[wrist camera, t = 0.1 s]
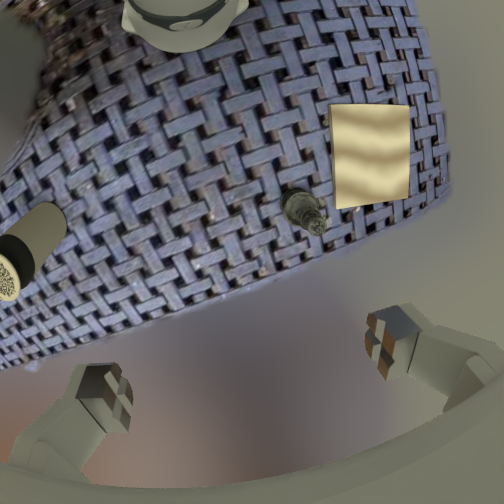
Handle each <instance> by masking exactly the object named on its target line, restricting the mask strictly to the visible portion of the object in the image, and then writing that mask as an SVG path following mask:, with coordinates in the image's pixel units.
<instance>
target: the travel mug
mask: <svg viewBox="0 0 504 504" xmlns="http://www.w3.org/2000/svg"><path fill="white" fill-rule="evenodd" d="M66 229H67V224H66V219H65V217H64V215H63V213H62V211H61V210H60V209H59V208H58V207H57V206H56V205H54V204H52V203H49V202H43V203H40V204H38V205H37V206H35V207H34V208H33V209H32V210H30V211H29V212H28V213H27V214H25V215H24V216H23V217H22V218H21V219H19V220H18V221H17V222H16V223H15V224H14V225H12V226H11V227H10V228H9V229H8V230H7V231H6V232H5V233H3V234H2V235H1V236H0V299H1V300H4V301H12V300H15V299H16V298H17V297H18V295H19V293H20V289H23V288H25V287H26V286H27V285H28V284H29V282H30V281H31V280H32V278H33V277H34V275H35V274H36V273H37V271H38V270H39V269H40V267H41V266H42V265H43V263H44V262H45V261H46V259H47V258H48V257H49V255H50V254H51V253H52V252H53V250H54V249H55V248H56V247H57V245H58V244H59V243H60V242H61V240H62V239H63V238H64V236H65V234H66Z"/></svg>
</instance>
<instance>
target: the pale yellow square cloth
mask: <svg viewBox="0 0 504 504" xmlns="http://www.w3.org/2000/svg"><path fill="white" fill-rule="evenodd" d="M328 113H329V125H330V139H331V155H332V176H333V207H334V208H335V209H342V208H348V207H354V206H360V205H366V204H372V203H378V202H385V201H391V200H398V199H404V198H408V185H409V160H410V123H409V106H406V105H386V104H331V105H328Z"/></svg>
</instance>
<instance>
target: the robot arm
mask: <svg viewBox="0 0 504 504" xmlns="http://www.w3.org/2000/svg"><path fill="white" fill-rule="evenodd" d="M123 1H125V4H124V10H123V17H122V28H123V29H124V30H125V31H126V32H129V33H132V34H136V35H139V36H141V37H142V38H143V39H144V40H146V41H147V42H148V43H149V44H150V45H152V46H154V47H156V48H158V49H160V50H163V51H167V52H175V53H183V52H191V51H195V50H199V49H201V48H204V47H206V46H208V45H210V44H212V43H213V42H215V41H216V40H217V39H219V38H220V37H221V36H222V35H223V34H224V33H225V31H226V30H227V29H228V27H229V26H230V24H231V22H232V21H233V19H234V18H235V17H237V16H238V15H240V14H241V13H243V12H244V11H245V10H246V9H247V8H248V5H249V2H248V0H123ZM366 324H367V325H368V327H369V329H368V330H367V332H366V333H365V339H364V343H365V348H366V351H367V354H368V355H369V357H370V359H371V360H373V361H376V362H378V366H377V369H378V371H379V372H380V373H381V375H382V376H383V378H384V379H385V381H386V382H387V381H389V380H392V379H395V378H397V377H400V376H402V375H405V374H408V375H409V376H411V377H412V378H414V379H416V380H418V381H420V382H422V383H424V384H426V385H427V386H429V387H431V388H433V389H435V390H437V391H439V392H440V393H442V394H444V395H446V396H448V397H449V398H448V400H447V402H446V404H445V406H444V408H443V414H441V415H439V416H437V417H436V418H434V419H432V420H430V421H428V422H426V423H425V424H423V425H421V426H419V427H417V428H415V429H413V430H411V431H409V432H406V433H404V434H402V435H400V436H398V437H396V438H394V439H391V440H389V441H387V442H384V443H382V444H380V445H377V446H375V447H372V448H370V449H367V450H365V451H362V452H359V453H357V454H354V455H351V456H348V457H345V458H342V459H339V460H336V461H333V462H330V463H327V464H323V465H320V466H316V467H313V468H309V469H305V470H302V471H298V472H294V473H289V474H285V475H281V476H276V477H271V478H266V479H260V480H255V481H249V482H242V483H235V484H227V485H218V486H208V487H193V488H131V487H116V486H107V485H98V484H91V480H90V479H89V478H88V477H87V476H85V475H84V474H83V473H81V472H80V470H81V468H82V467H83V466H84V465H85V463H86V462H87V460H88V459H89V458H90V456H91V455H92V454H93V452H94V451H95V450H96V448H97V447H98V445H99V444H100V443H101V441H102V440H103V439H104V437H105V436H106V433H128V432H129V426H130V420H131V416H130V415H129V413H128V411H129V410H130V408H132V406H133V400H134V399H133V391H132V388H131V385H130V383H129V382H128V380H127V379H125V378H124V377H122V376H121V373H122V370H121V368H120V366H119V365H118V364H117V363H115V362H113V363H112V362H111V363H91V364H78V365H76V366H75V367H74V369H73V372H72V374H71V377H70V380H69V382H68V385H67V387H66V389H65V392H64V395H63V397H62V399H58V400H57V401H56V402H54V403H53V404H52V405H51V406H50V407H49V408H48V409H46V410H45V411H44V412H43V413H42V414H41V415H40V416H39V417H38V418H36V419H35V420H34V421H33V422H32V423H31V424H30V425H29V426H27V427H26V428H25V429H24V430H23V431H22V432H21V433H20V434H19V435H17V437H16V441H15V443H14V446H13V449H12V452H11V455H10V458H9V461H8V464H5V463H2V462H0V504H504V351H503V350H502V349H501V348H500V347H499V346H498V345H497V344H496V343H495V342H492V341H489V340H486V339H482V338H479V337H476V336H473V335H469V334H466V333H462V332H459V331H456V330H453V329H450V328H447V327H444V326H440V325H437V326H434V325H433V324H432V323H431V322H430V321H429V320H428V319H427V318H426V317H425V316H424V315H423V314H422V313H421V312H420V311H419V310H418V309H417V308H416V307H415V306H414V305H413V304H412V303H411V302H409V301H404V302H401V303H399V304H396V305H394V306H390V307H388V308H384V309H381V310H378V311H375V312H371V313H369V314H368V316H367V321H366Z"/></svg>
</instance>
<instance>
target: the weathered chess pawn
mask: <svg viewBox="0 0 504 504" xmlns="http://www.w3.org/2000/svg"><path fill="white" fill-rule="evenodd" d="M280 207H281V210H282V211H283V213H284V215H285V218H286V220H287V221H288V222H289V223H290V224H291V225H293V226H297V227H302V228H303V229H305V230H307V231H308V232H309V233H310V234H311V235H313V236H320V235H322V234H323V233H324V232H325V230H326V227H327V224H326V221H325V220H324V218H323V217H322V216H321V213H320V211H319V203H318V200H317V198H316V197H315V196H314V195H312V194H311V193H308V192H306V191H305V190H304V189H302V188H298V187H296V188H291V189H289V190H287V191H286V192H285V193H284V194H283V195H282V197H281V200H280Z"/></svg>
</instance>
